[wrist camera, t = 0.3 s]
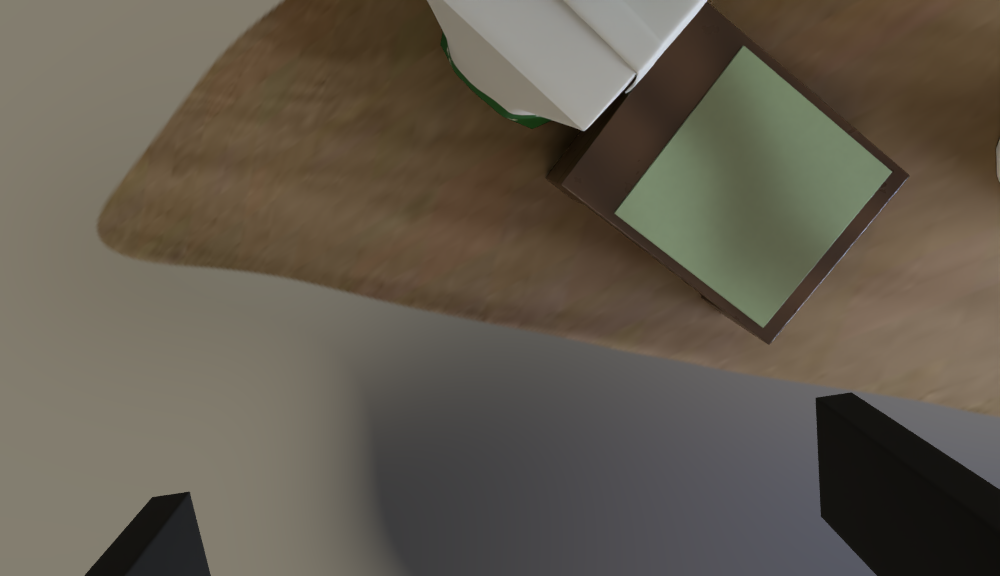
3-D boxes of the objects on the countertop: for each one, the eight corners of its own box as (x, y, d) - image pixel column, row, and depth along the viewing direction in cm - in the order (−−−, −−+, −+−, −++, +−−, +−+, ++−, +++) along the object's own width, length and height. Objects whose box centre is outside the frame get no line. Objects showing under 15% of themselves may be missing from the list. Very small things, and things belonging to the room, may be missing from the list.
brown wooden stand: (663, 20, 40) (703, -5, 33) (843, 170, 42) (913, 175, 36) (545, 178, 41) (560, 185, 35) (725, 315, 44) (771, 346, 37)
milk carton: (638, 31, 40) (806, -75, 21) (531, 154, 41) (594, 163, 22) (523, -83, 39) (585, -314, 19) (414, 47, 40) (369, -45, 20)
